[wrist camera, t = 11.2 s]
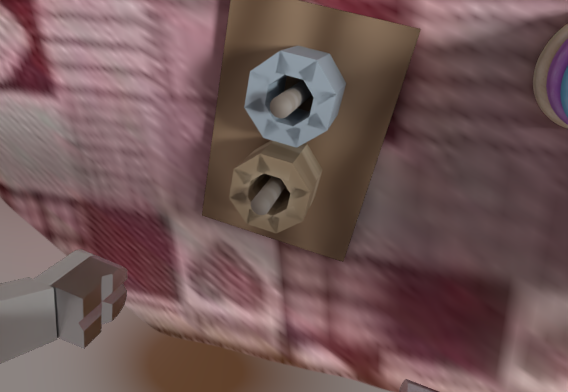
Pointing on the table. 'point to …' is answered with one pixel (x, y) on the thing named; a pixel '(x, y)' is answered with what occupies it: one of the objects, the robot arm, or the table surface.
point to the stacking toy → (553, 78)
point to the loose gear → (271, 83)
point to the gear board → (325, 147)
